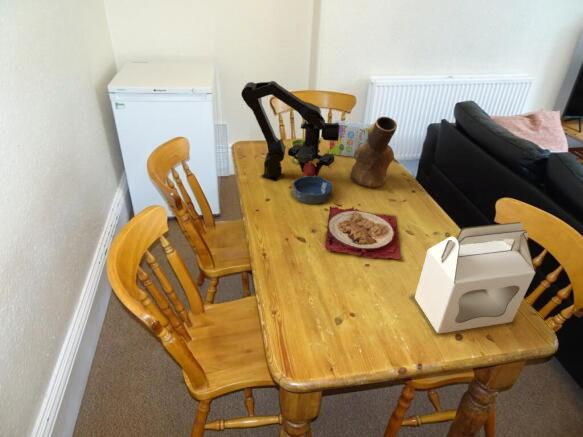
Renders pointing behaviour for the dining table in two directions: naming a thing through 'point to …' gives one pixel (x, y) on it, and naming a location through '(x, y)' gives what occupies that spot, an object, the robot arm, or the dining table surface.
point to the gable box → (476, 277)
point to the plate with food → (362, 233)
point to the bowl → (312, 189)
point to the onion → (309, 169)
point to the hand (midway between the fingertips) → (309, 174)
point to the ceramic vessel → (374, 154)
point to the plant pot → (299, 143)
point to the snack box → (349, 138)
